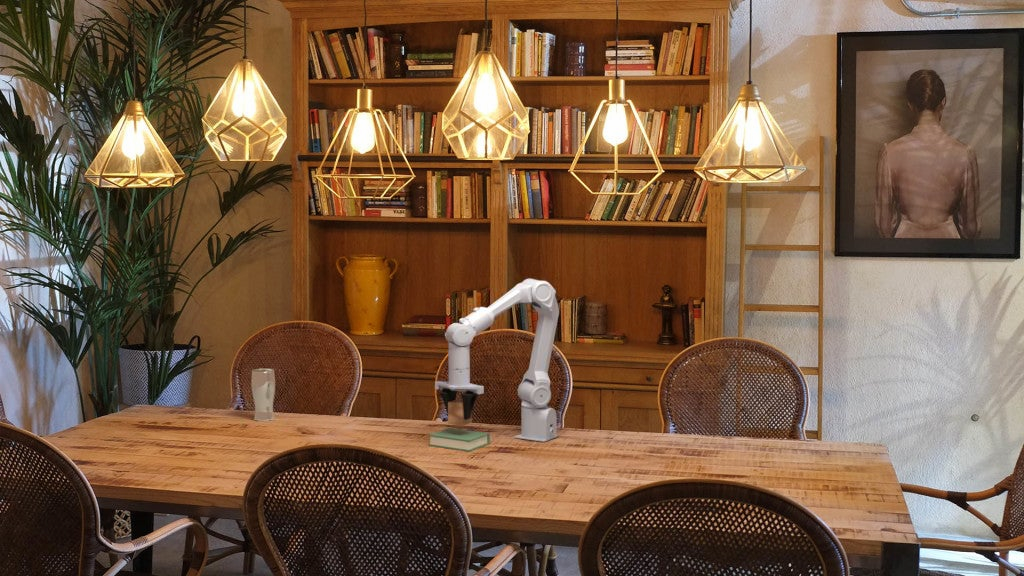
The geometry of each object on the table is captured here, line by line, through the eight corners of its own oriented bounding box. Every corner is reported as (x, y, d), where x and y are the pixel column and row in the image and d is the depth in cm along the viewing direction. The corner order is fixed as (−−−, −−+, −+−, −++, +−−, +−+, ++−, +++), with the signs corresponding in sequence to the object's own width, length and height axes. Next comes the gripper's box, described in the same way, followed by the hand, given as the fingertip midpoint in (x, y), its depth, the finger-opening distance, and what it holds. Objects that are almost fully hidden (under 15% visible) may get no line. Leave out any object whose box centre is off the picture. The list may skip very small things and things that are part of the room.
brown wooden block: (471, 422, 285) (471, 401, 284) (462, 425, 281) (462, 403, 280) (457, 421, 287) (457, 399, 287) (448, 423, 283) (448, 401, 283)
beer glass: (263, 422, 312) (262, 372, 311) (247, 420, 316) (246, 370, 315) (280, 418, 318) (279, 369, 317) (264, 415, 322) (263, 367, 321)
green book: (489, 444, 285) (489, 433, 285) (469, 451, 277) (469, 440, 276) (450, 438, 292) (450, 427, 292) (429, 445, 283) (429, 434, 283)
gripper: (428, 367, 283) (428, 417, 284) (473, 372, 275) (473, 423, 276) (443, 364, 289) (443, 412, 290) (487, 368, 281) (488, 418, 282)
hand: (459, 417), depth 284 cm, fingers closed on brown wooden block, 5 cm apart
